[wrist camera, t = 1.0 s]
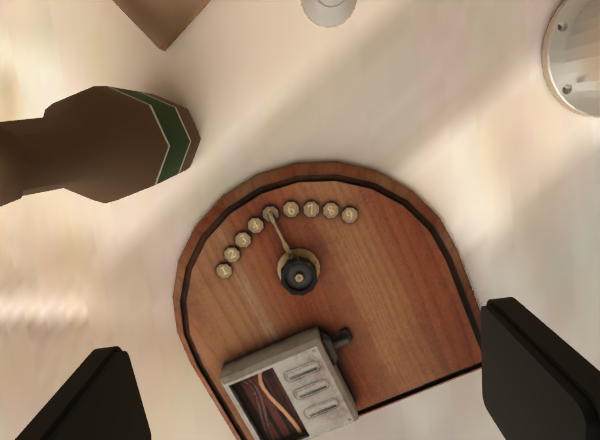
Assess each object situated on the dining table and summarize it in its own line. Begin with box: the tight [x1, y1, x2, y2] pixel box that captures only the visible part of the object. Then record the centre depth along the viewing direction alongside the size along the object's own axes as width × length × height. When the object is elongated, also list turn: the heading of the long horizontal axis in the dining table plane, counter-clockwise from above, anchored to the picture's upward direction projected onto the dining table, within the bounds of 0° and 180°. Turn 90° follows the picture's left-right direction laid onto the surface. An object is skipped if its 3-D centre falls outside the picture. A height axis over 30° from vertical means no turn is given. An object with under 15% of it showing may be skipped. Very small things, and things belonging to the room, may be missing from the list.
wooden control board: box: [173, 162, 482, 440], centre depth 41 cm, size 31×5×30 cm
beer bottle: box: [0, 86, 201, 206], centre depth 27 cm, size 8×8×24 cm
